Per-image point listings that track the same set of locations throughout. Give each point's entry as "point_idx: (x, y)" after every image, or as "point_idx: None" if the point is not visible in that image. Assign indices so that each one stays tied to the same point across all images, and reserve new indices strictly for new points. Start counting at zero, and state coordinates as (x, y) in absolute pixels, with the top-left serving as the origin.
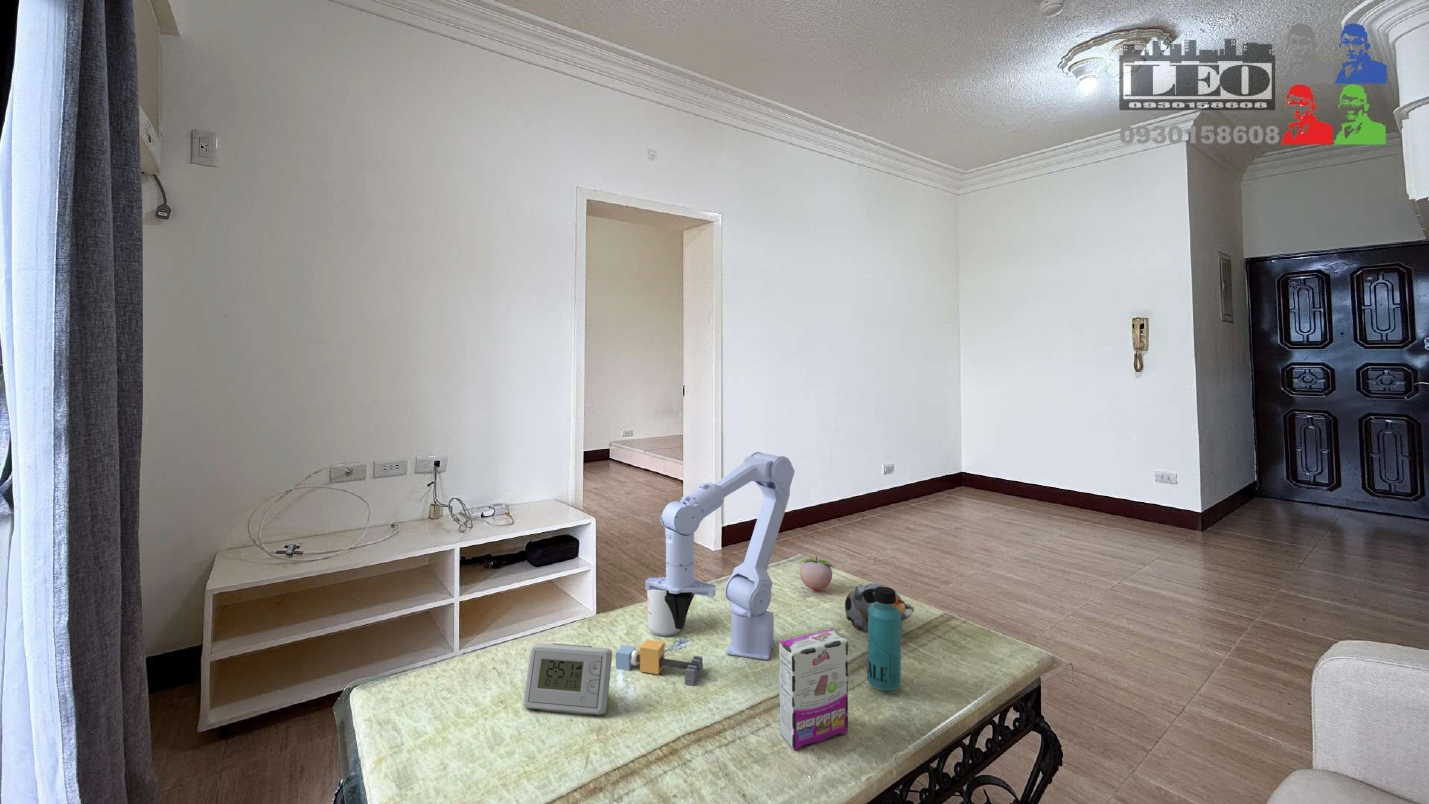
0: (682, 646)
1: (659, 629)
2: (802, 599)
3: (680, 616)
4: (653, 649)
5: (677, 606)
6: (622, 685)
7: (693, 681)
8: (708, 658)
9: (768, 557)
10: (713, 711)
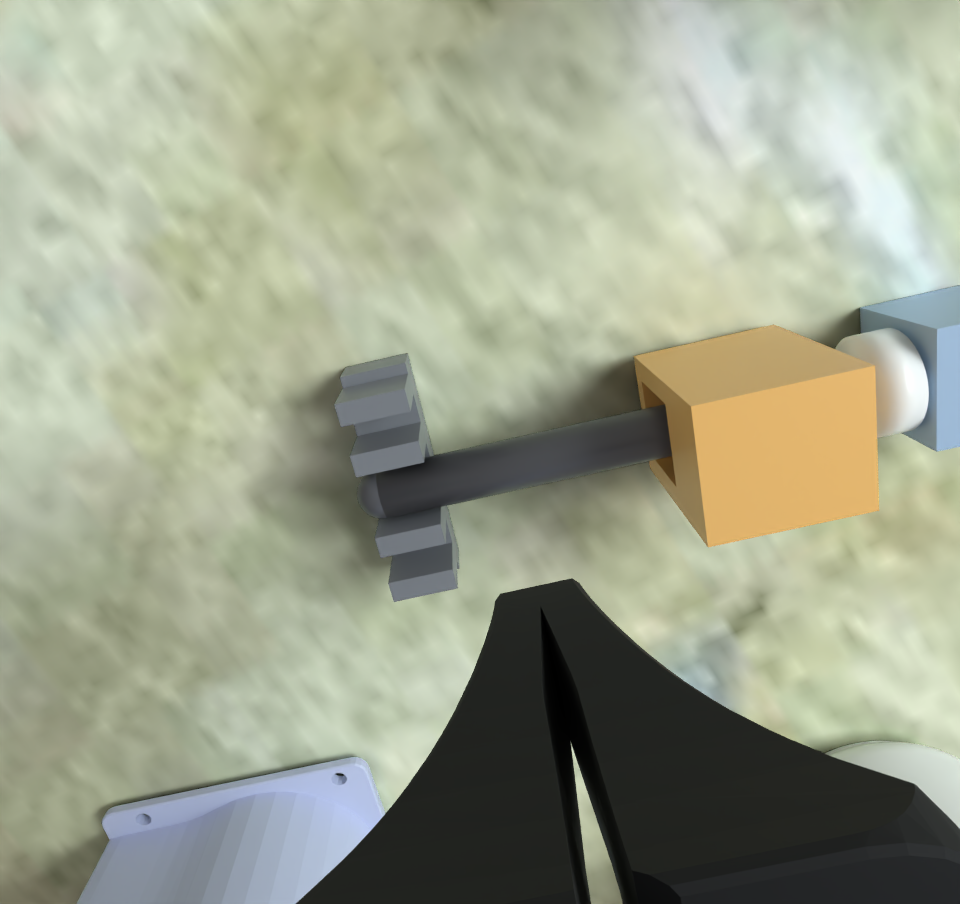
0: None
1: (881, 766)
2: None
3: (504, 683)
4: (738, 394)
5: (611, 822)
6: (812, 117)
7: (341, 375)
8: (438, 674)
9: None
10: (45, 170)
